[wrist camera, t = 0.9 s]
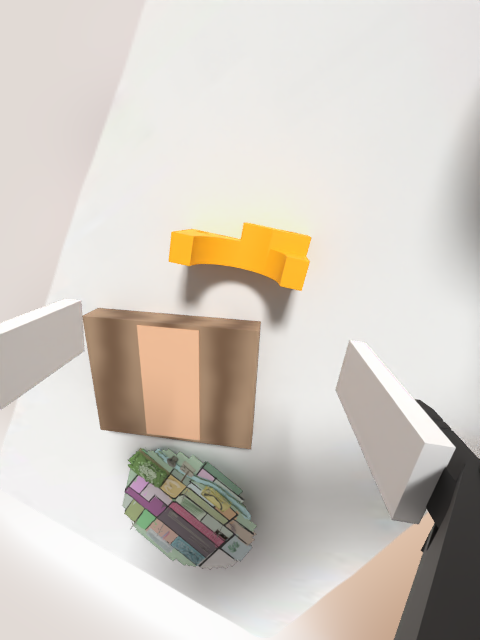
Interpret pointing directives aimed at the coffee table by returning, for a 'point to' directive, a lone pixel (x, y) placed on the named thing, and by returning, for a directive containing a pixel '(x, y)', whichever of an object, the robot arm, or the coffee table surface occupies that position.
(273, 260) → the pipe clamp
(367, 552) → the coffee table surface
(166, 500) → the city model
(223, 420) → the board
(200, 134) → the coffee table surface
